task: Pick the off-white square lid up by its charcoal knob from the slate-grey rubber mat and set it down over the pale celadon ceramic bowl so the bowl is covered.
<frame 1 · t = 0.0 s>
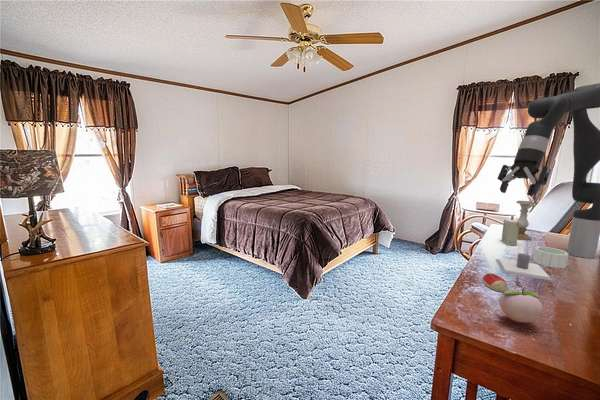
hand: (515, 193, 96), 31 cm above the table, tool tilted 20°, fingers open, 8 cm apart
decorative fruit: (518, 323, 73), on the table
lid: (521, 269, 106), point 1 cm above the table, touching mat
bowl: (549, 264, 113), on the table
candle holder: (520, 238, 148), on the table
ladybug figurine: (494, 286, 94), on the table
skincare box: (508, 244, 139), on the table
mat: (521, 270, 107), on the table
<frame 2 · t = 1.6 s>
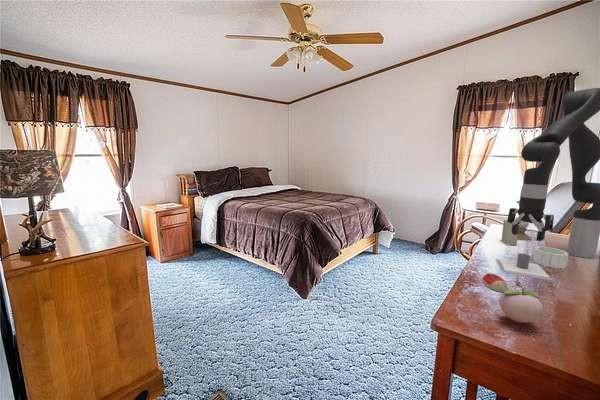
hand: (526, 237, 104), 14 cm above the table, tool pointing down, fingers open, 8 cm apart
nothing on the table moved.
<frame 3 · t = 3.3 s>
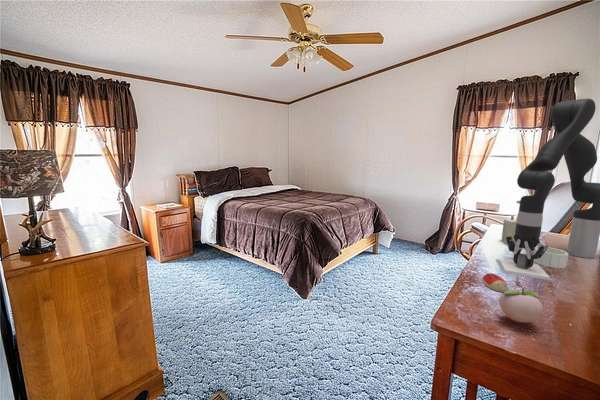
hand: (522, 265, 106), 2 cm above the table, tool pointing down, fingers closed on lid, 3 cm apart
lid: (521, 269, 106), point 1 cm above the table, touching gripper, mat
everything else where it was.
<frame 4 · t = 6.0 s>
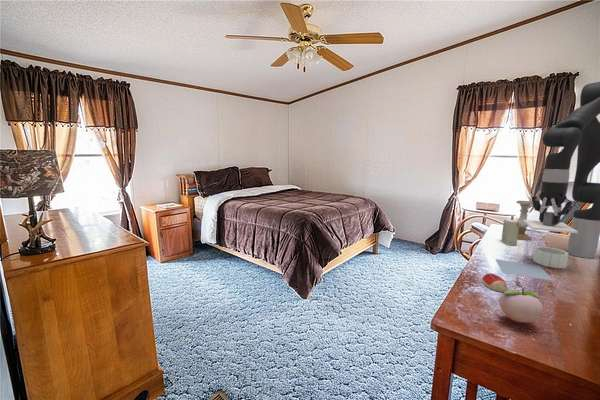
hand: (548, 223, 108), 18 cm above the table, tool pointing down, fingers closed on lid, 3 cm apart
lid: (548, 226, 108), point 17 cm above the table, touching gripper
everything else where it was.
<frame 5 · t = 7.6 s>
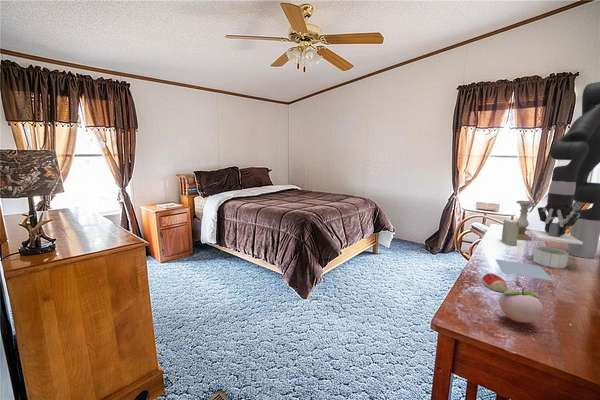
hand: (554, 233, 110), 13 cm above the table, tool pointing down, fingers closed on lid, 3 cm apart
lid: (553, 237, 111), point 12 cm above the table, touching gripper
everything else where it was.
when the fingers open (9 cm above the table, at t = 8.8 s): lid drops 1 cm, resting on bowl.
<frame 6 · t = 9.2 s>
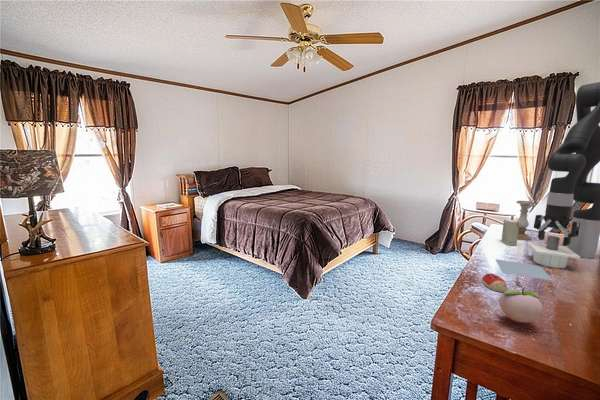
hand: (552, 242, 111), 10 cm above the table, tool pointing down, fingers open, 8 cm apart
lid: (551, 250, 112), point 6 cm above the table, touching bowl
everything else where it was.
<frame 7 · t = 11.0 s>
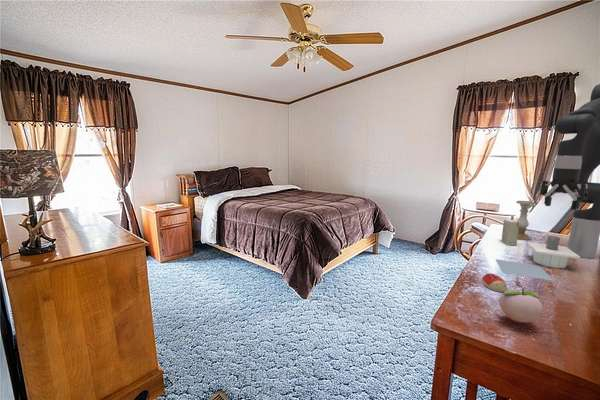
hand: (560, 207, 108), 24 cm above the table, tool pointing down, fingers open, 8 cm apart
nothing on the table moved.
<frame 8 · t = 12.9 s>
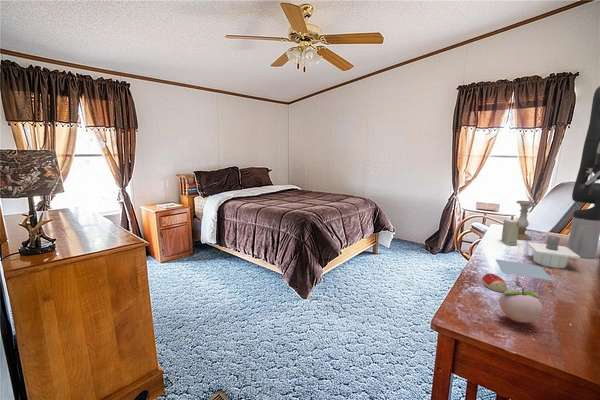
nothing on the table moved.
at the end: lid 0.0 cm off-centre on the bowl, point 6.0 cm above the bowl's base; lid tilted 0°; the gripper is holding nothing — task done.
